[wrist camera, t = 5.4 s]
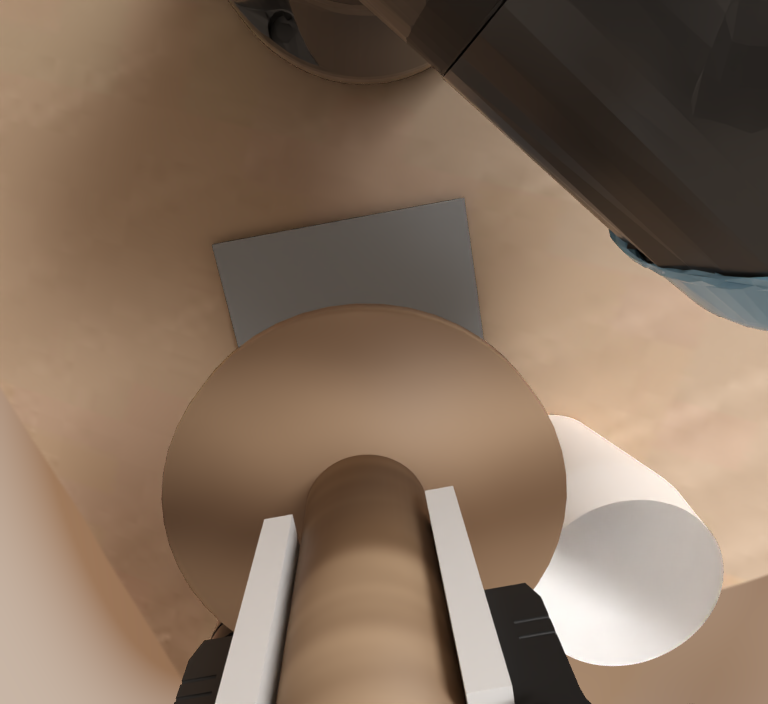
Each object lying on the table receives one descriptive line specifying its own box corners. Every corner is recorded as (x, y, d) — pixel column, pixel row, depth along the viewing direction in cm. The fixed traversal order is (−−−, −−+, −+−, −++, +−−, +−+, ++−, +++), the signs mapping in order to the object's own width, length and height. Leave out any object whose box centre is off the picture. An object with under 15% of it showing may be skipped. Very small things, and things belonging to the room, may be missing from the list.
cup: (451, 495, 39) (489, 631, 28) (519, 372, 37) (591, 464, 26) (573, 544, 41) (657, 693, 29) (645, 429, 39) (767, 540, 27)
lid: (124, 344, 18) (-175, 570, 8) (533, 269, 18) (762, 401, 8) (227, 672, 21) (111, 1120, 11) (570, 612, 21) (761, 1012, 11)
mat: (213, 243, 34) (211, 244, 34) (463, 197, 34) (464, 197, 34) (271, 468, 38) (270, 471, 38) (494, 428, 38) (496, 430, 38)
